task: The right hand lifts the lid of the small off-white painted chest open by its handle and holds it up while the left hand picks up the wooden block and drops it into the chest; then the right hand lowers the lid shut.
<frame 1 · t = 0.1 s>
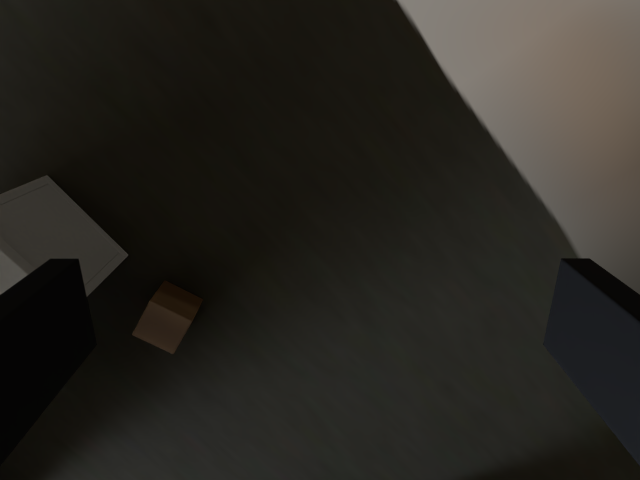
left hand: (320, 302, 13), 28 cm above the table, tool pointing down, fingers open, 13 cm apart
block: (175, 305, 44), on the table
chest: (35, 263, 43), on the table
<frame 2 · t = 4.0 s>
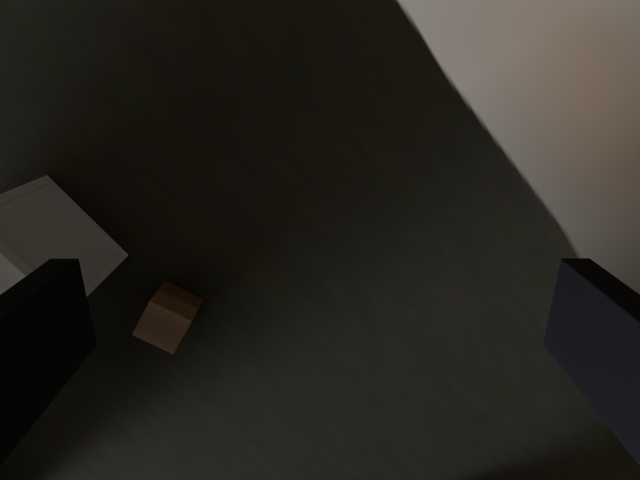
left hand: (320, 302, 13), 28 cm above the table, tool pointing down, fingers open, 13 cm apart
block: (175, 305, 44), on the table
chest: (35, 263, 43), on the table
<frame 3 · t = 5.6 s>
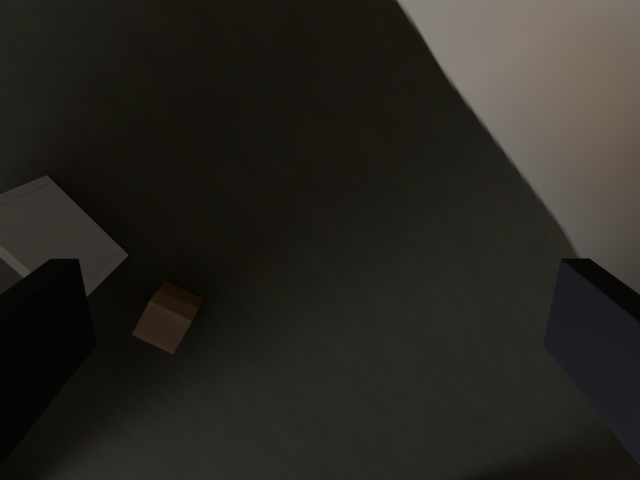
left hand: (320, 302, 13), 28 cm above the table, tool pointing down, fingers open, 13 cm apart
block: (175, 305, 44), on the table
chest: (35, 263, 43), on the table
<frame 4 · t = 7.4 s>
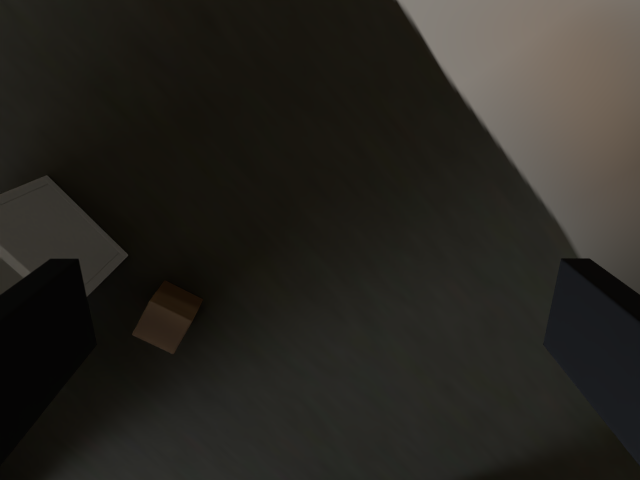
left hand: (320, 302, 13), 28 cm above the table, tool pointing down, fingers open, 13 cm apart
block: (175, 305, 44), on the table
chest: (35, 263, 43), on the table
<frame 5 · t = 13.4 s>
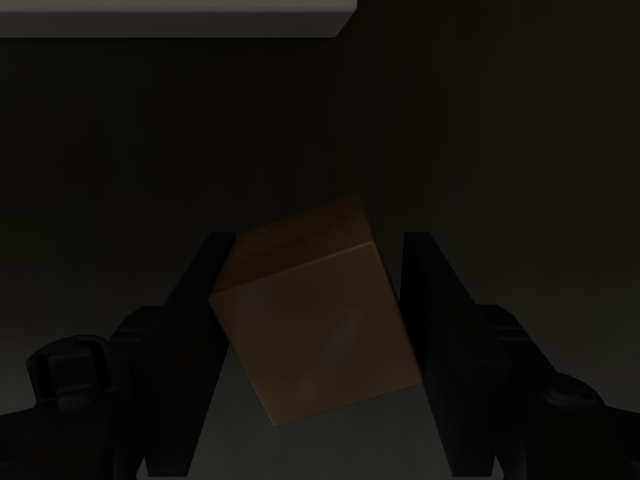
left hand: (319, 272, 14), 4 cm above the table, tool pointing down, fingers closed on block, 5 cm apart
block: (319, 270, 15), point 4 cm above the table, touching left hand
when the left hand's fingers open (15 cm above the table, at t = 16.4 s): block drops 10 cm and tips over, resting on chest.
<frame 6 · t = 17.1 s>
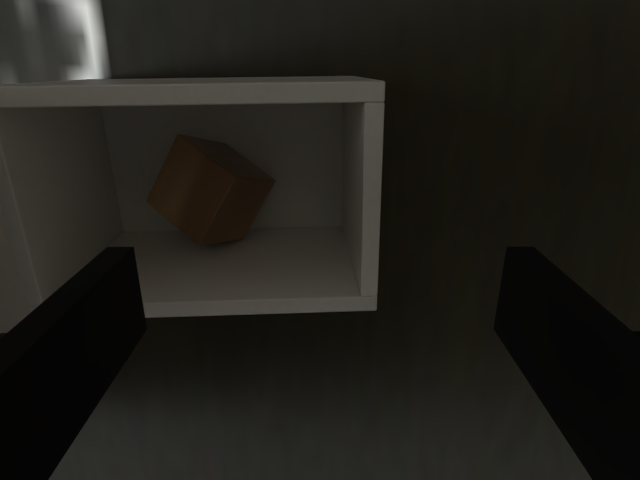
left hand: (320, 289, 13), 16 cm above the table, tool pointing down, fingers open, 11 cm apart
block: (239, 211, 24), point 5 cm above the table, tilted 120°, touching chest
chest: (229, 161, 28), on the table, touching block
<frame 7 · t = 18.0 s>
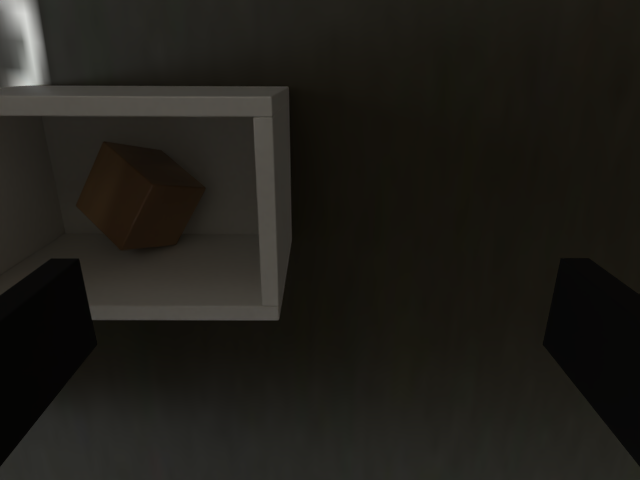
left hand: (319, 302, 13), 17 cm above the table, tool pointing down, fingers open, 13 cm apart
block: (165, 218, 25), point 5 cm above the table, tilted 120°, touching chest
chest: (169, 167, 28), on the table, touching block
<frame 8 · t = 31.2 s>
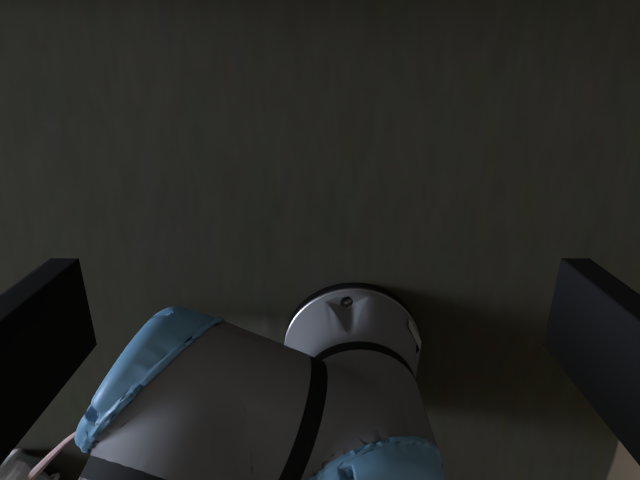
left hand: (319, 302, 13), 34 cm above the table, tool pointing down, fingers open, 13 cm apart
toy: (48, 451, 59), on the table
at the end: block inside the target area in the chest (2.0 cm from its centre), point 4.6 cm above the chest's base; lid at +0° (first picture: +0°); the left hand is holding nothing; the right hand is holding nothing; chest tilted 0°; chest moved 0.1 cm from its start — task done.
